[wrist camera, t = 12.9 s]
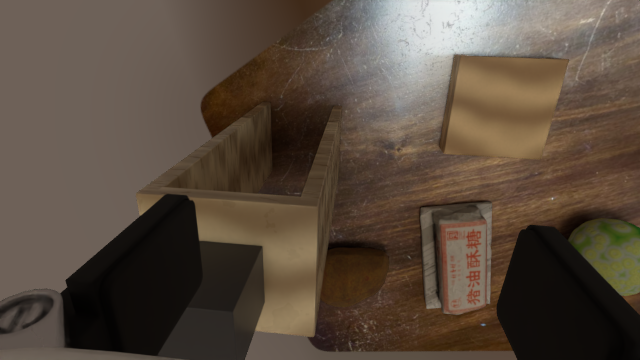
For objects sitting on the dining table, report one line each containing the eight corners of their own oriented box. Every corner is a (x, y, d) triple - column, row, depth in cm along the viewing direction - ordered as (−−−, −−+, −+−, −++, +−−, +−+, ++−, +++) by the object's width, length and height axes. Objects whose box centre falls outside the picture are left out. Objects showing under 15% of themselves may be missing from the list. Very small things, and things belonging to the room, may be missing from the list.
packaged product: (423, 221, 48) (502, 214, 46) (418, 205, 52) (489, 198, 51) (429, 324, 54) (498, 321, 53) (424, 302, 59) (487, 299, 57)
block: (193, 239, 22) (142, 303, 17) (262, 245, 22) (232, 312, 17) (200, 296, 24) (156, 369, 19) (265, 302, 23) (238, 378, 18)
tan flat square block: (454, 54, 44) (460, 55, 41) (556, 57, 43) (569, 59, 40) (438, 147, 49) (443, 153, 46) (530, 152, 48) (541, 159, 45)
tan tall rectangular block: (262, 101, 49) (134, 193, 21) (342, 105, 48) (318, 206, 20) (264, 169, 53) (159, 321, 25) (338, 174, 52) (314, 337, 24)
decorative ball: (547, 265, 54) (586, 313, 45) (555, 207, 50) (599, 246, 41) (619, 263, 52) (675, 312, 43) (633, 202, 49) (696, 242, 40)
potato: (387, 283, 58) (391, 323, 50) (314, 282, 60) (307, 321, 52) (387, 239, 55) (391, 274, 47) (311, 239, 56) (302, 273, 48)
